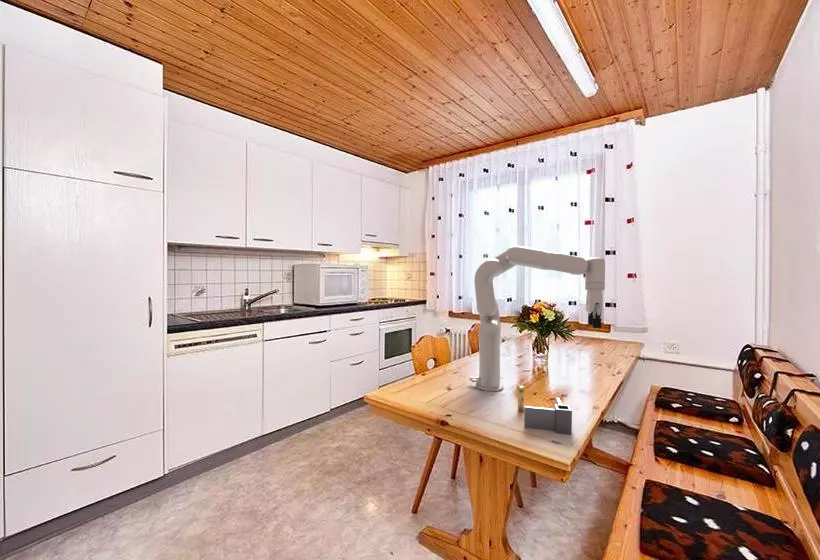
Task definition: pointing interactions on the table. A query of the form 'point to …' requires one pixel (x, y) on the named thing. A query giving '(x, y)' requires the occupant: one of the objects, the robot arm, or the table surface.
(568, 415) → the hinge bracket
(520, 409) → the hinge pin
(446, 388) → the table surface
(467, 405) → the table surface
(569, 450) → the table surface
